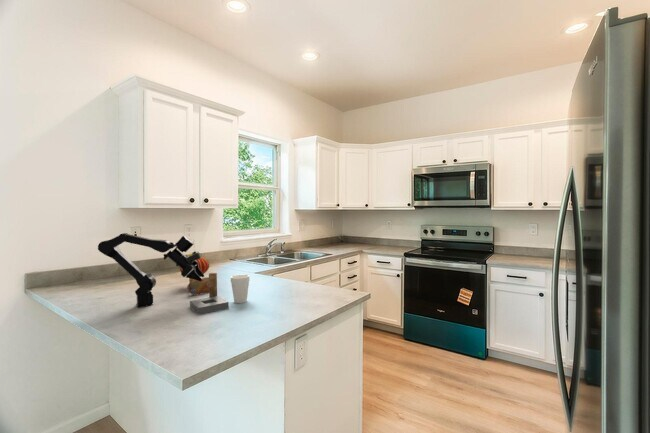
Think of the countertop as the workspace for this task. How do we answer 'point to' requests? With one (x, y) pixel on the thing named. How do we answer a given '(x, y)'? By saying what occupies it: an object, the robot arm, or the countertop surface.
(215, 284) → the peg
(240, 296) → the foam cup
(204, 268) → the lantern
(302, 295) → the countertop surface
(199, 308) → the socket block
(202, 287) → the tin
